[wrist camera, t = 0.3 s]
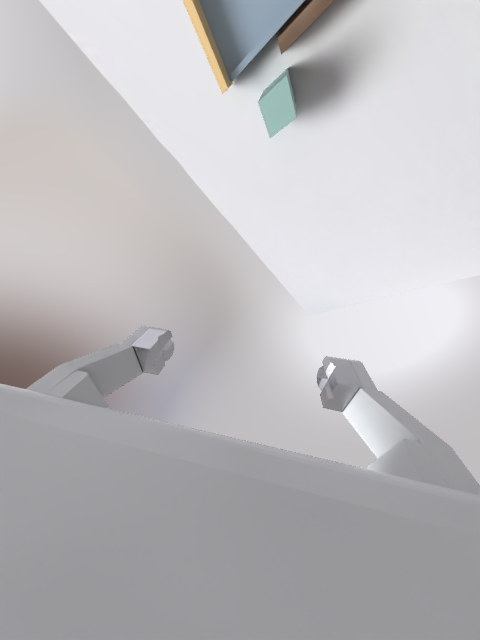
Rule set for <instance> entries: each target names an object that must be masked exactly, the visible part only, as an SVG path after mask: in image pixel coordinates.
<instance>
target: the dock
mask: <svg viewBox="0 0 480 640" xmlns="http://www.w3.org/2000/svg"><path fill="white" fill-rule="evenodd" d="M333 1H334V0H305V2H304V3H303V4H302V5H301V6H300V7H299V8H298V9H297V10H296V12H295V13H294V14H293V15H292V16H291V17H290V18H289V19H288V20H287V22H286V23H285V24H284V25H283V26H282V27H281V28H280V29H279V30H278V37H279V38H278V42H279V47H280V51H281V54H282V53H283V52H284V51H285V50H286V49H287V48H288V47H289V46H290V45H291V44H292V43H293V42H294V41H295V40H296V39H297V38H298V37H299V36H300V35H301V34H302V33H303V32H304V31H305V30H306V29H307V28H308V27H309V26H310V25H311V24H312V23H313V22H314V21H315V20H316V19H317V18H318V17H319V16H320V14H321V13H322V12H323V11H324V10H325V9H326V8H327V7H328V6H329V5H330V4H331V3H332V2H333Z"/></svg>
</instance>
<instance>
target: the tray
mask: <svg viewBox="0 0 480 640" xmlns="http://www.w3.org/2000/svg"><path fill="white" fill-rule="evenodd" d="M183 2H184V5H185V7H186V9H187V12H188V14H189V16H190V19H191V21H192V23H193V26H194V28H195V30H196V33H197V35H198V38H199V40H200V42H201V45H202V47H203V49H204V52H205V54H206V56H207V59H208V61H209V63H210V66H211V68H212V70H213V73H214V75H215V77H216V80H217V82H218V84H219V87H220V89H221V91H222V94H223V93H224V92H225V91H226V90H227V89H228V88H229V87H230V86H231V85H232V84H233V83H232V82H233V81H234V79H235V78H236V77H237V76H238V75H239V74H240V73H241V72H242V71H243V69H244V68H245V67H246V66H247V65H248V64H249V63H250V62H251V61H252V59H253V58H254V57H255V56H256V55H257V54H258V53H259V52H260V51H261V49H262V48H263V47H264V46H265V45H266V44H267V43H268V42H269V40H270V39H271V38H272V37H273V36H274V35H275V34H276V33H277V32H278V30H279V29H280V28H281V27H282V26H283V25H284V24H285V23H286V22H287V20H288V19H289V18H290V17H291V16H292V15H293V14H294V13H295V12H296V10H297V9H298V8H299V7H300V6H301V5H302V4H303V3H304V2H305V0H183Z"/></svg>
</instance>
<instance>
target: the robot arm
mask: <svg viewBox="0 0 480 640" xmlns="http://www.w3.org/2000/svg"><path fill="white" fill-rule="evenodd" d="M171 337H172V334H171V331H169V330H164V329H159V328H154V327H147V326H142V327H140V328H139V329H138V330H137V331H135V332H134V333H133V334H132V335H131V336H129V337H128V338H127V339H126V340H125V341H123V342H122V343H121V344H116V345H113V346H110V347H108V348H105V349H102V350H99V351H97V352H94V353H91V354H89V355H86V356H83V357H80V358H78V359H75V360H72V361H70V362H67V363H64V364H62V365H59V366H58V367H56V368H55V369H53V370H52V371H51V372H49V373H48V374H46V375H45V376H43V377H42V378H41V379H39V380H38V381H36V382H35V383H34V384H32V385H31V386H29V387H28V388H27V389H22V388H17V387H13V386H9V385H4V384H0V640H480V485H479V484H478V483H477V481H476V480H475V479H474V477H473V476H472V474H471V473H470V472H469V470H468V469H467V468H466V467H465V465H464V464H463V462H462V461H461V460H460V458H459V457H458V455H457V454H456V453H455V451H454V450H453V449H452V448H451V447H450V446H449V445H448V444H447V443H445V442H444V441H443V440H442V439H440V438H439V437H438V436H437V435H435V434H434V433H433V432H432V431H430V430H429V429H428V428H426V427H425V426H424V425H423V424H422V423H420V422H419V421H418V420H416V419H415V418H414V417H413V416H411V415H410V414H409V413H408V412H406V411H405V410H404V409H403V408H402V407H400V406H399V405H398V404H396V403H395V402H394V401H393V400H391V399H390V398H389V397H388V396H387V395H385V394H384V393H383V392H381V391H378V390H377V388H376V387H375V385H374V383H373V381H372V380H371V378H370V376H369V374H368V373H367V371H366V369H365V367H364V366H363V364H362V363H361V362H360V361H355V360H349V359H348V360H347V359H341V358H334V357H328V356H326V357H325V358H324V360H323V365H324V366H322V367H320V368H319V370H318V374H317V383H318V387H319V388H320V389H321V390H322V392H321V394H320V396H321V400H322V405H323V408H327V409H331V410H336V411H341V412H343V414H344V416H345V417H346V418H347V420H348V421H349V422H350V423H351V425H352V426H353V427H354V429H355V430H356V431H357V432H358V434H359V435H360V436H361V438H362V439H363V440H364V441H365V443H366V444H367V445H368V447H369V448H370V449H371V450H372V452H373V453H374V454H375V456H376V457H377V459H376V460H375V461H373V462H372V463H371V464H370V465H369V466H368V469H364V468H360V467H356V466H352V465H347V464H343V463H339V462H334V461H330V460H325V459H321V458H317V457H313V456H309V455H305V454H300V453H296V452H292V451H287V450H283V449H279V448H275V447H270V446H266V445H262V444H258V443H253V442H248V441H245V440H240V439H236V438H232V437H228V436H223V435H219V434H215V433H210V432H206V431H202V430H197V429H193V428H189V427H185V426H180V425H176V424H172V423H168V422H163V421H158V420H155V419H150V418H146V417H142V416H138V415H133V414H129V413H125V412H120V411H116V410H112V409H107V408H108V403H107V401H106V400H105V399H104V397H106V396H107V395H109V394H111V393H112V392H114V391H115V390H117V389H119V388H120V387H122V386H123V385H124V384H126V383H128V382H130V381H131V380H133V379H134V378H136V377H137V376H139V375H141V374H142V373H143V372H144V373H150V374H156V375H158V374H159V373H160V371H161V370H162V368H163V367H164V366H165V361H167V360H168V359H170V357H171V356H172V354H173V351H174V344H173V342H172V341H171Z"/></svg>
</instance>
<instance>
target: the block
mask: <svg viewBox="0 0 480 640" xmlns="http://www.w3.org/2000/svg"><path fill="white" fill-rule="evenodd" d="M258 103H259V106H260V109H261V112H262V115H263V118H264V121H265V124H266V127H267V131H268V134H269V137H270V138H271V137H272V136H274V135H275V134H276V133H278V132H279V131H280V130H281V129H283V128H284V127H285V126H287V125H288V124H289V123H290V122H292V121H293V120H294V119H295V118H296V103H295V98H294V94H293V89H292V85H291V80H290V76H289V71H288V68H287V69H286V70H285V71H284V72H283V73H282V74H281V75H280V76H279V77H278V78H277V79H276V80H275V81H274V82H273V83H272V84H270V85H269V86H268V87H267V88H266V89H265V90H264V91H263V93H262V95H261V97H260V99H259V102H258Z"/></svg>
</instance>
